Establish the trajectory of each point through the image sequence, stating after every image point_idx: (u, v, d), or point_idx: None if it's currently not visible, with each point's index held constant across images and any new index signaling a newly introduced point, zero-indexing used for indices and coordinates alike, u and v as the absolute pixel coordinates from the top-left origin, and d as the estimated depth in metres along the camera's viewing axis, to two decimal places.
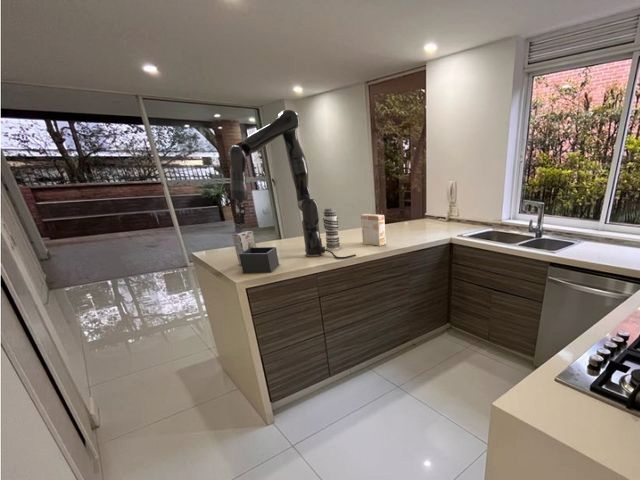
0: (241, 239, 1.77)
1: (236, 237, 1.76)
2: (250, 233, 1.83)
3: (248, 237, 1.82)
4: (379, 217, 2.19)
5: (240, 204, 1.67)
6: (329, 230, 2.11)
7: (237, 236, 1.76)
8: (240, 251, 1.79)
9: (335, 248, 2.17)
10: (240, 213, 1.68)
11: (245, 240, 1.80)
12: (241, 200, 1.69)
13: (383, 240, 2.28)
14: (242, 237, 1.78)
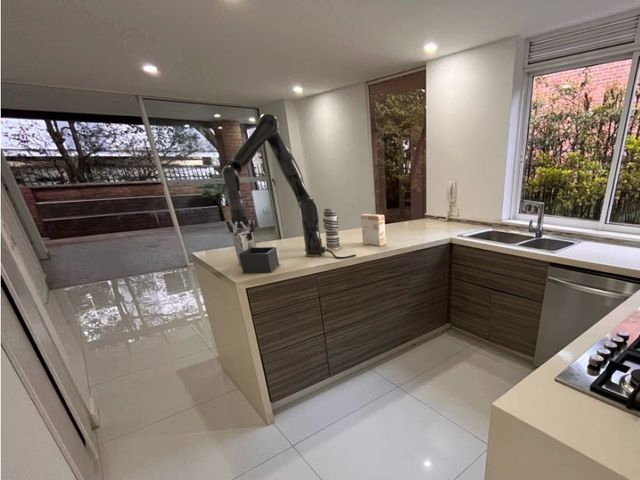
0: (241, 239, 1.77)
1: (236, 237, 1.76)
2: None
3: None
4: (379, 217, 2.19)
5: (253, 222, 1.79)
6: (329, 230, 2.11)
7: (237, 236, 1.76)
8: (240, 251, 1.79)
9: (335, 248, 2.17)
10: (253, 230, 1.80)
11: (245, 240, 1.80)
12: None
13: (383, 240, 2.28)
14: (242, 237, 1.78)
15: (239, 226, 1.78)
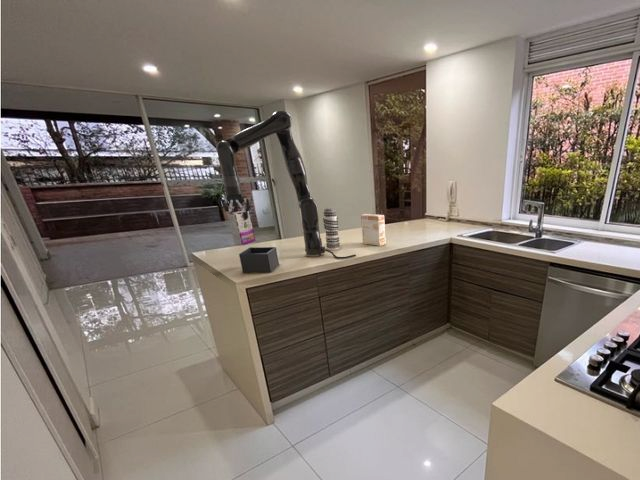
0: (237, 217, 1.73)
1: (231, 215, 1.72)
2: None
3: None
4: (379, 217, 2.19)
5: (249, 200, 1.74)
6: (329, 230, 2.11)
7: (232, 215, 1.72)
8: (236, 230, 1.75)
9: (335, 248, 2.17)
10: (249, 209, 1.75)
11: (241, 219, 1.76)
12: (242, 195, 1.74)
13: (383, 240, 2.28)
14: (238, 215, 1.73)
15: (234, 204, 1.74)
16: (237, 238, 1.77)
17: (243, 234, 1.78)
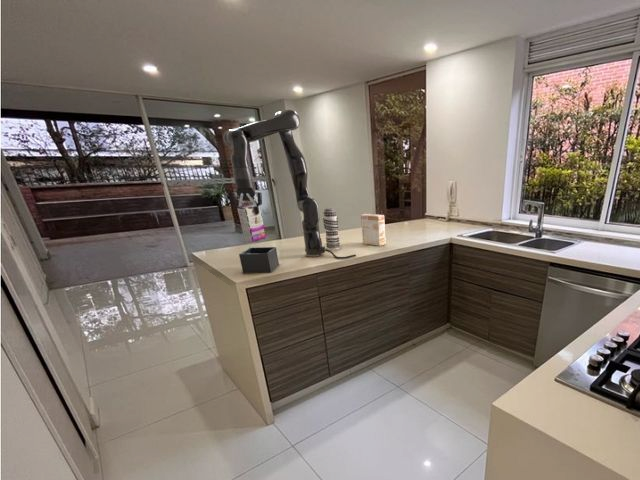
0: (247, 212, 1.61)
1: (242, 210, 1.60)
2: None
3: None
4: (379, 217, 2.19)
5: (260, 194, 1.62)
6: (329, 230, 2.11)
7: (242, 209, 1.60)
8: (246, 226, 1.63)
9: (335, 248, 2.17)
10: (260, 203, 1.64)
11: (251, 214, 1.64)
12: (253, 188, 1.62)
13: (383, 240, 2.28)
14: (248, 210, 1.61)
15: (245, 198, 1.62)
16: (247, 234, 1.65)
17: (254, 230, 1.66)
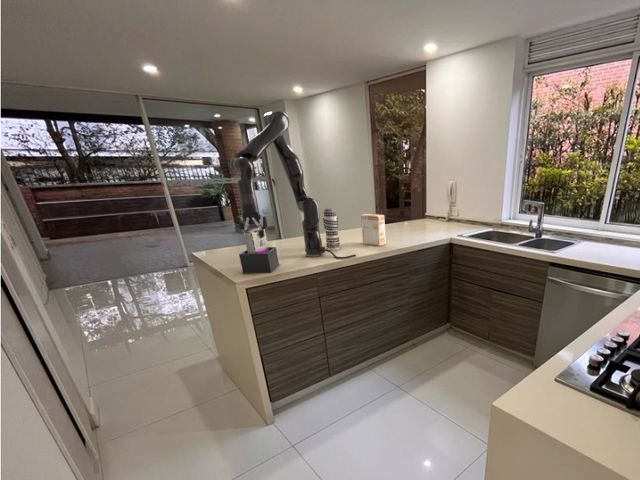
0: (253, 236, 1.65)
1: (247, 234, 1.64)
2: None
3: None
4: (379, 217, 2.19)
5: (265, 218, 1.66)
6: (329, 230, 2.11)
7: (248, 233, 1.64)
8: (252, 249, 1.67)
9: (335, 248, 2.17)
10: (265, 227, 1.68)
11: (257, 237, 1.68)
12: None
13: (383, 240, 2.28)
14: (254, 234, 1.65)
15: (250, 222, 1.66)
16: None
17: None
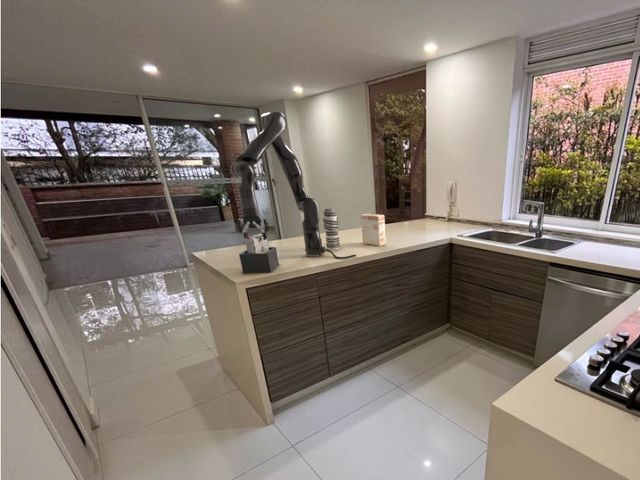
0: (254, 242, 1.66)
1: (249, 240, 1.65)
2: None
3: (261, 240, 1.71)
4: (379, 217, 2.19)
5: (266, 220, 1.67)
6: (329, 230, 2.11)
7: (249, 239, 1.65)
8: None
9: (335, 248, 2.17)
10: (268, 229, 1.68)
11: (258, 243, 1.69)
12: (259, 216, 1.67)
13: (383, 240, 2.28)
14: (255, 240, 1.67)
15: (251, 226, 1.67)
16: None
17: None
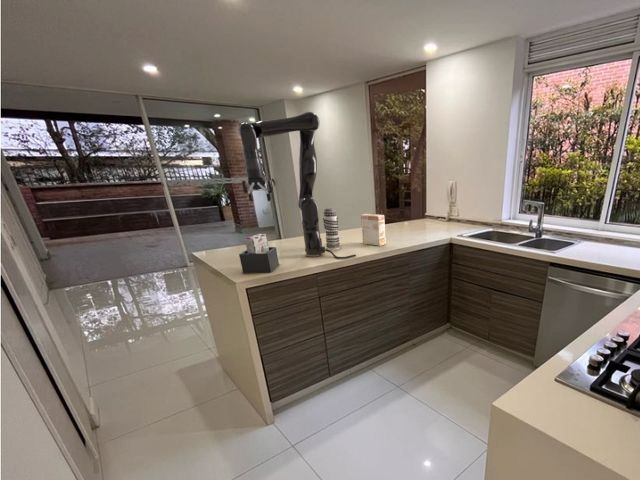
0: (254, 242, 1.66)
1: (249, 240, 1.65)
2: (263, 236, 1.72)
3: (261, 240, 1.71)
4: (379, 217, 2.19)
5: (270, 181, 1.75)
6: (329, 230, 2.11)
7: (249, 239, 1.65)
8: None
9: (335, 248, 2.17)
10: (272, 190, 1.76)
11: (258, 243, 1.69)
12: (263, 178, 1.74)
13: (383, 240, 2.28)
14: (255, 240, 1.67)
15: (256, 187, 1.75)
16: None
17: None
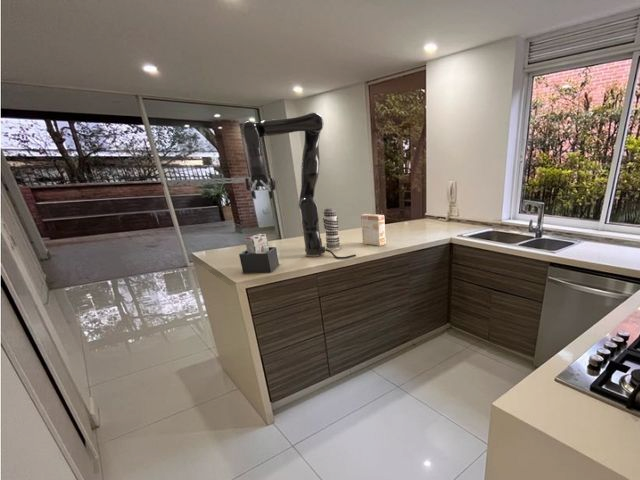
0: (254, 242, 1.66)
1: (249, 240, 1.65)
2: (263, 236, 1.72)
3: (261, 240, 1.71)
4: (379, 217, 2.19)
5: (272, 179, 1.78)
6: (329, 230, 2.11)
7: (249, 239, 1.65)
8: None
9: (335, 248, 2.17)
10: (274, 188, 1.80)
11: (258, 243, 1.69)
12: (266, 176, 1.78)
13: (383, 240, 2.28)
14: (255, 240, 1.67)
15: (258, 185, 1.78)
16: None
17: None
